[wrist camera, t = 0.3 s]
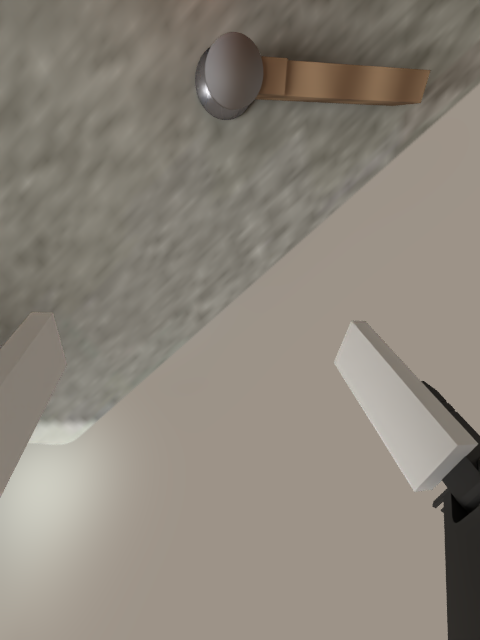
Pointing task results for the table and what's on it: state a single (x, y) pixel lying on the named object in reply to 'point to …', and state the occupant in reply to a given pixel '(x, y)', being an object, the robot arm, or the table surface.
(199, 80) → the grey curved piece
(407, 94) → the bar
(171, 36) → the table surface
